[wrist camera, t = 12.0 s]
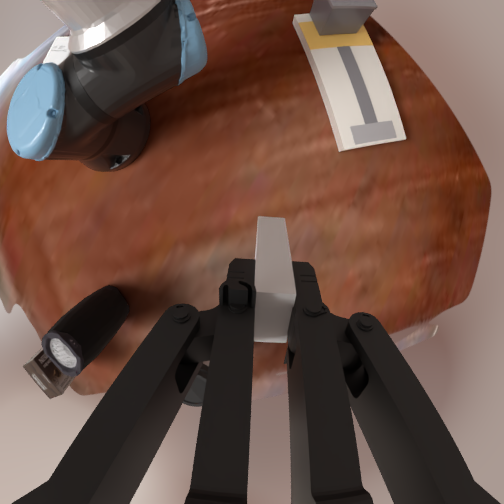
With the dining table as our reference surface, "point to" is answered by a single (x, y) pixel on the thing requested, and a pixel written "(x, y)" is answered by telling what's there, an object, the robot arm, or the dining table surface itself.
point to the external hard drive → (58, 51)
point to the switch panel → (351, 86)
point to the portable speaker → (85, 330)
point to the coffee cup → (198, 387)
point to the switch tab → (340, 15)
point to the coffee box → (47, 375)
